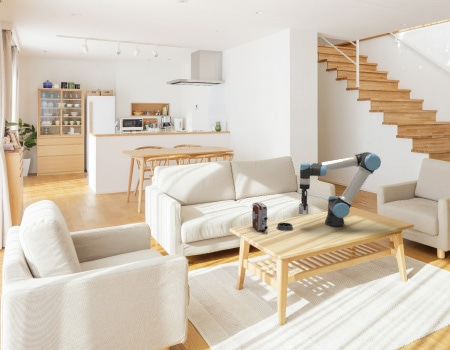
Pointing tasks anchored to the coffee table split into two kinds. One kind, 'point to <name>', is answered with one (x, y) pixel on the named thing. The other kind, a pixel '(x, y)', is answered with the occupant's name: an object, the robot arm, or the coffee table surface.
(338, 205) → the robot arm
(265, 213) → the cine camera
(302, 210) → the grey cube
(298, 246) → the coffee table surface
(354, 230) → the coffee table surface
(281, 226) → the lens barrel
